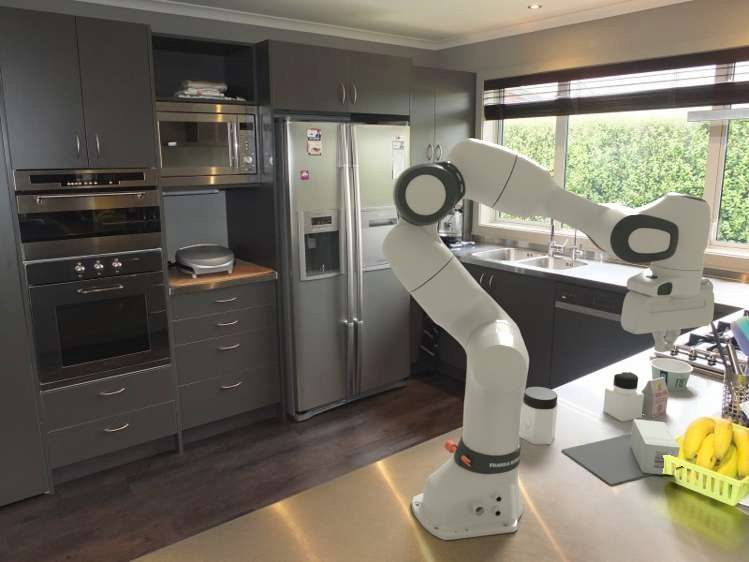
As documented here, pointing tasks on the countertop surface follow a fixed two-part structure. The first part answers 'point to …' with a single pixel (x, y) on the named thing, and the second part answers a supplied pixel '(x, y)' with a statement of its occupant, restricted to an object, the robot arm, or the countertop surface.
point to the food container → (671, 372)
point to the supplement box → (652, 445)
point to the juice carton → (655, 397)
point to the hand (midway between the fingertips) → (663, 350)
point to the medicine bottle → (624, 397)
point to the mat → (608, 459)
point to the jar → (538, 415)
